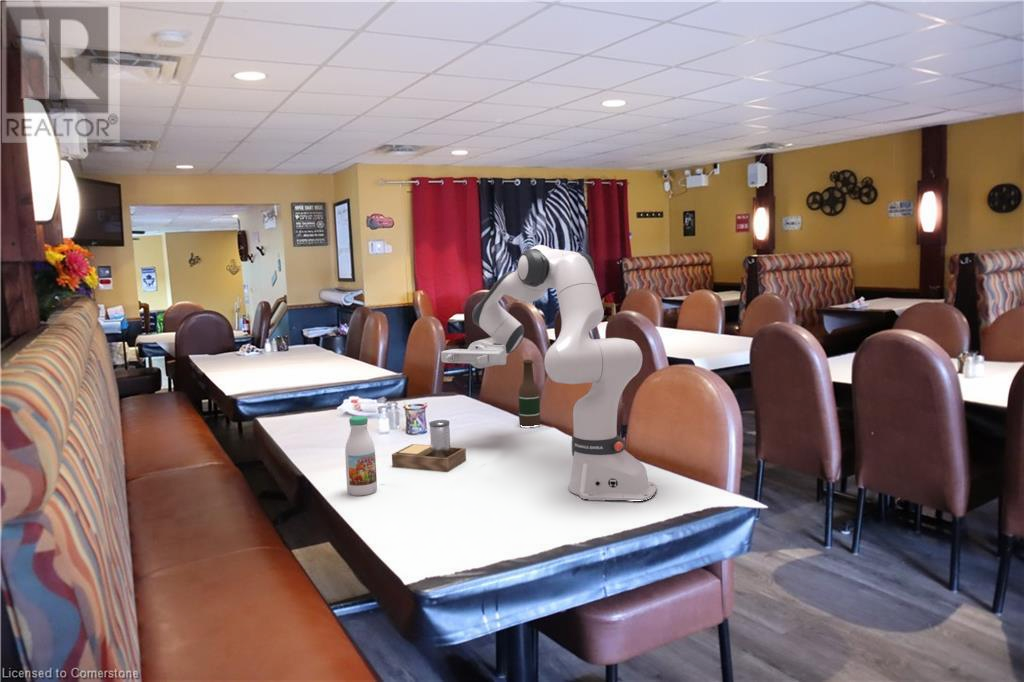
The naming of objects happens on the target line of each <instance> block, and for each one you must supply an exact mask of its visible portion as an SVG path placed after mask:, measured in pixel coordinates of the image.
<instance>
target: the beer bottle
mask: <svg viewBox="0 0 1024 682" xmlns="http://www.w3.org/2000/svg"><path fill="white" fill-rule="evenodd" d="M522 361H523V362H522V364H523V377H522V378H523V379H522V382H521V384H520V386H519V389H518V395H517V396H518V422H519V423H518V424H519V426H520V425H522V426H534V425H541V413H540V412H541V411H540V409H541V406H540V391H539V388H538V385H537V384H536V383H535V378H534V369H533V367H534V366H533V364H534V362H533V361H534V360H533V359H524V360H522Z"/></svg>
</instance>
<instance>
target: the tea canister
mask: <svg viewBox="0 0 1024 682" xmlns="http://www.w3.org/2000/svg"><path fill="white" fill-rule="evenodd" d="M428 425H429V431H430V432H429V433H430V434H429V435H430V446H431V452H432V457H438V458H447V457H449V456H450V455H451V447H452V446H451V433H450V420H447V419H436V420H431V421H429V424H428Z"/></svg>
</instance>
